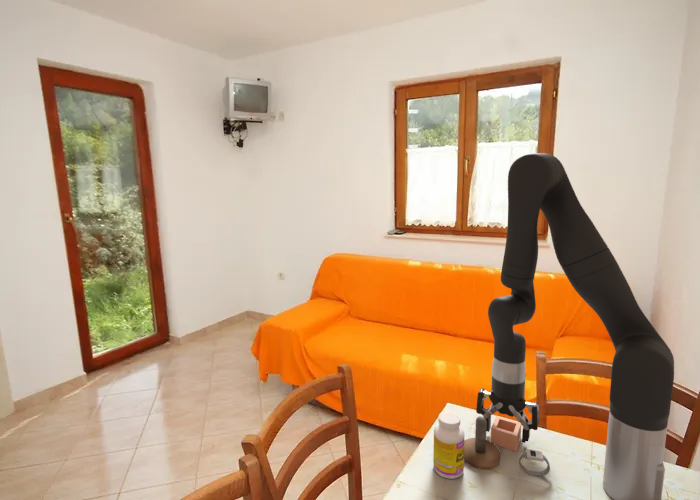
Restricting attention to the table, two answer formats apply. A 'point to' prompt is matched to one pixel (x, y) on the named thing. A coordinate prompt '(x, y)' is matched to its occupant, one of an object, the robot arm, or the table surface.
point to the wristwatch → (535, 456)
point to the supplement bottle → (448, 446)
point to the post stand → (481, 449)
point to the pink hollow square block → (506, 433)
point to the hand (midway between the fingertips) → (505, 435)
